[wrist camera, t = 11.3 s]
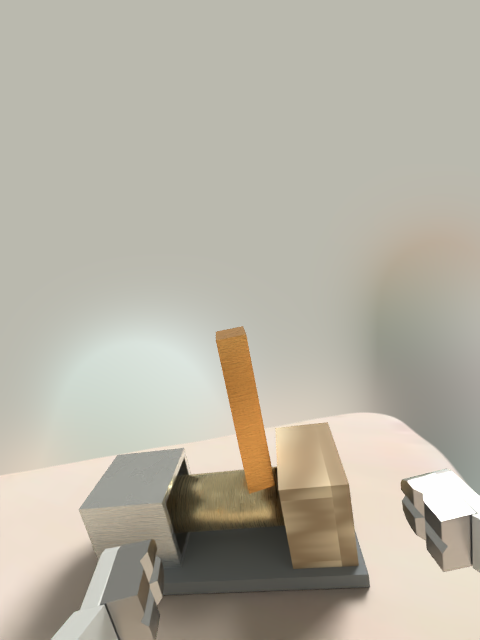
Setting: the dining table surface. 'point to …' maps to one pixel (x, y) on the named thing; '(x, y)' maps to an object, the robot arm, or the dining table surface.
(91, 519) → the matte gray cube
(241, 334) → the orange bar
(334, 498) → the socket block
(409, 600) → the dining table surface
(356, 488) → the dining table surface
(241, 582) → the slate board
